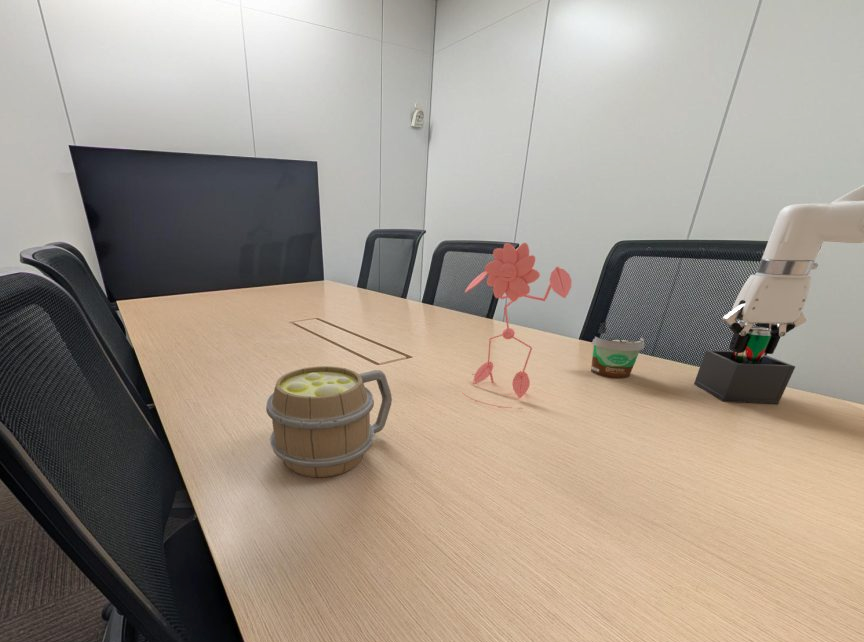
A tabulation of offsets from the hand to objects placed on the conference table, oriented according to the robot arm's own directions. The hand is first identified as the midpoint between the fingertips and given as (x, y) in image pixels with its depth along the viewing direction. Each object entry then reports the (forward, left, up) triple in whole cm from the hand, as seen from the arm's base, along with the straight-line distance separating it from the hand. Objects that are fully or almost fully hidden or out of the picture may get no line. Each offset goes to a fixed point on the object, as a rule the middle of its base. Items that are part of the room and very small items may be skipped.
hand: (750, 351), depth 85 cm
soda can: (0, 0, -7) cm, 7 cm away
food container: (+22, -9, -11) cm, 26 cm away
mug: (+88, +39, -11) cm, 97 cm away
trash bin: (0, 0, -11) cm, 11 cm away
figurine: (+56, +8, -11) cm, 58 cm away
